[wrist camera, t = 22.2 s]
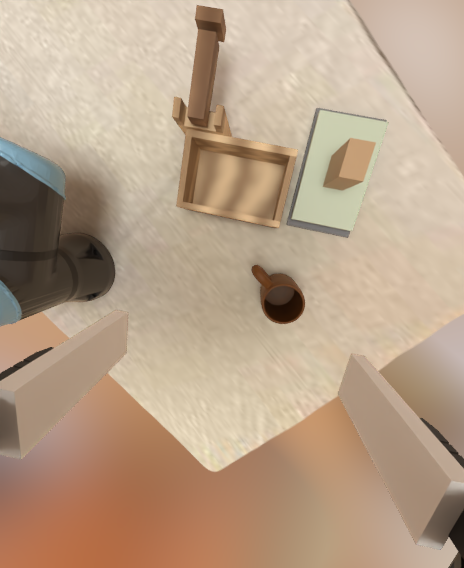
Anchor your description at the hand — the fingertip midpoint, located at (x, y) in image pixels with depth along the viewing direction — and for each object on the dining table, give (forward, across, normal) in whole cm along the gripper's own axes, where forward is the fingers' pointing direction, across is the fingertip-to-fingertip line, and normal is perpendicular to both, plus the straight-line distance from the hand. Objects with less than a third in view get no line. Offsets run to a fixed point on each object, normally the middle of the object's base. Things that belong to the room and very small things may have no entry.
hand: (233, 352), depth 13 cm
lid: (+33, +13, +18) cm, 40 cm away
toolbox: (+35, -5, +15) cm, 39 cm away
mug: (+35, +6, -3) cm, 36 cm away
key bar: (+27, -10, +27) cm, 39 cm away
